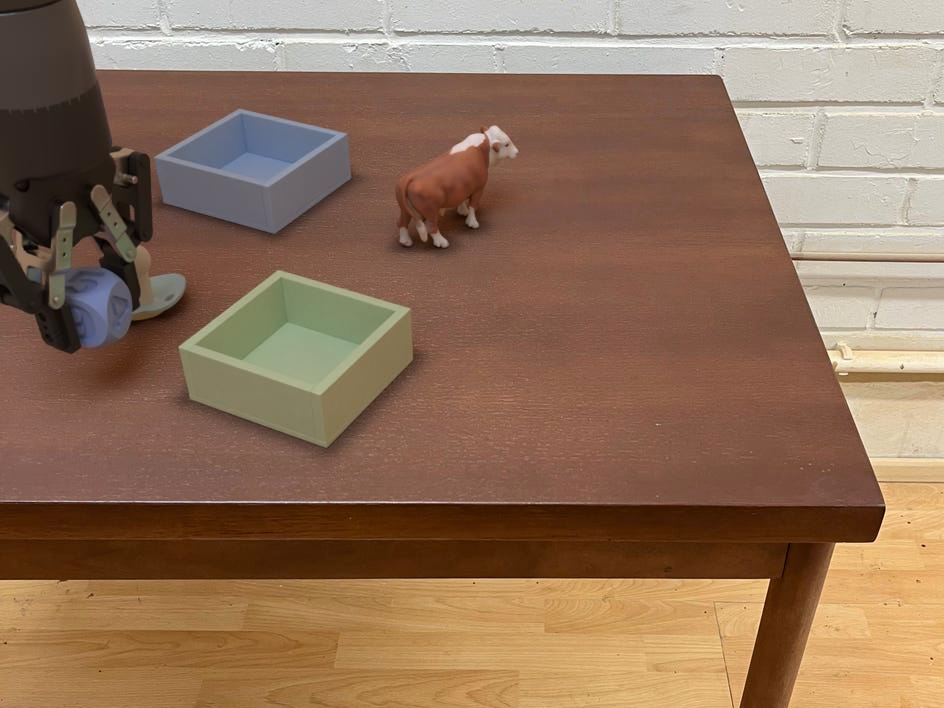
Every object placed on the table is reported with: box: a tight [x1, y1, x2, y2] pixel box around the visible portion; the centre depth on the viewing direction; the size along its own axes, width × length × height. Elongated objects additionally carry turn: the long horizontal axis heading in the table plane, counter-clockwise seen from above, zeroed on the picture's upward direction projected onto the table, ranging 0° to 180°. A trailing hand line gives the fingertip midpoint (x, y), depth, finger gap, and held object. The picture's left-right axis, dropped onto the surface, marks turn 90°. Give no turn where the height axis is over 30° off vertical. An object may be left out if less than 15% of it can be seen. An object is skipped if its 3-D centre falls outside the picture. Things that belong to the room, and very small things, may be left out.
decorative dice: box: [64, 266, 132, 349], centre depth 68 cm, size 4×4×4 cm
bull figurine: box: [394, 125, 519, 249], centre depth 87 cm, size 4×13×8 cm, turn 135°
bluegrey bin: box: [153, 108, 352, 235], centre depth 94 cm, size 13×13×4 cm
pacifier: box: [131, 244, 187, 321], centre depth 78 cm, size 7×6×6 cm
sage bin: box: [177, 269, 414, 449], centre depth 72 cm, size 12×12×4 cm
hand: (96, 326), depth 69 cm, fingers closed on decorative dice, 5 cm apart
